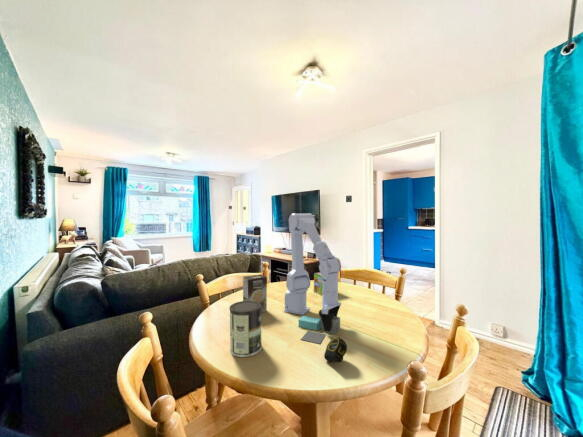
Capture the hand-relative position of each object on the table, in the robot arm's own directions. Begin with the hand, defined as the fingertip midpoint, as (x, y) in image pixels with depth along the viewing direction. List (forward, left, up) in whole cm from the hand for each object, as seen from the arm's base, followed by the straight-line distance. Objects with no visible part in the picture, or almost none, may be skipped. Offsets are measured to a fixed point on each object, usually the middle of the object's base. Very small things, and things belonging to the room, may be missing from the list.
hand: (330, 326), depth 92 cm
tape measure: (+7, -19, -2) cm, 20 cm away
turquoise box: (-8, 0, -2) cm, 8 cm away
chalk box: (-14, +40, -2) cm, 43 cm away
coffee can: (-22, -23, -2) cm, 32 cm away
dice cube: (0, 0, -2) cm, 2 cm away
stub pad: (-4, -7, -2) cm, 9 cm away
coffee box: (-36, +4, -2) cm, 36 cm away
